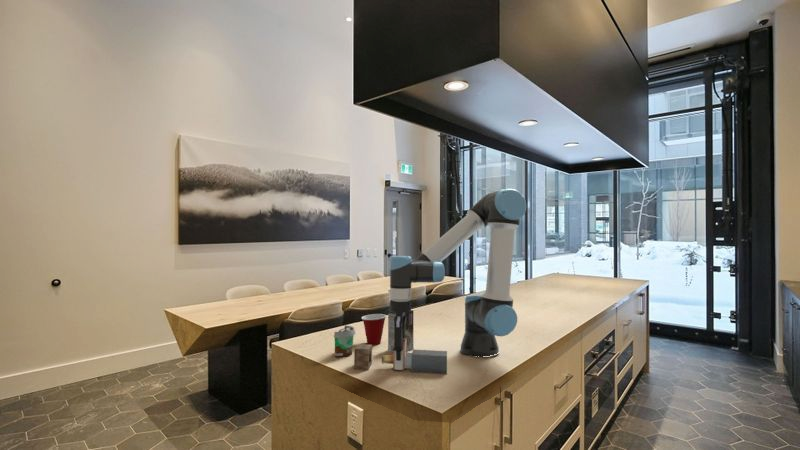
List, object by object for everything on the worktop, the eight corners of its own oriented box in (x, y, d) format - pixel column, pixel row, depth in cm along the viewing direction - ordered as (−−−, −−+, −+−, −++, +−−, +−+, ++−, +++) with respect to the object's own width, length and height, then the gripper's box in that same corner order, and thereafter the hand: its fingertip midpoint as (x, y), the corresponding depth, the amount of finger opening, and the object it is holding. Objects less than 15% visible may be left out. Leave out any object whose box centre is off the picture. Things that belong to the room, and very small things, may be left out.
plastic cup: (361, 340, 171) (361, 313, 171) (385, 339, 172) (385, 313, 172) (360, 346, 160) (361, 318, 160) (386, 346, 161) (386, 318, 161)
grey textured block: (371, 364, 137) (372, 344, 138) (368, 369, 131) (368, 349, 132) (358, 363, 138) (358, 344, 138) (354, 369, 132) (354, 348, 132)
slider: (444, 366, 134) (444, 339, 134) (444, 371, 129) (444, 343, 129) (383, 363, 136) (383, 337, 137) (381, 367, 131) (381, 340, 132)
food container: (349, 360, 142) (349, 333, 143) (333, 358, 143) (334, 332, 144) (359, 350, 154) (359, 325, 155) (344, 349, 155) (345, 325, 156)
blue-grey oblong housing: (446, 368, 134) (447, 351, 134) (446, 374, 128) (446, 356, 128) (413, 366, 135) (413, 349, 136) (411, 372, 130) (411, 354, 130)
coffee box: (402, 346, 162) (403, 308, 162) (413, 349, 157) (414, 310, 158) (387, 350, 155) (387, 310, 156) (398, 353, 151) (398, 312, 151)
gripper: (393, 295, 143) (392, 358, 142) (385, 303, 126) (384, 375, 125) (413, 296, 143) (412, 359, 142) (408, 304, 125) (407, 376, 124)
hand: (399, 366), depth 133 cm, fingers closed on slider, 5 cm apart
